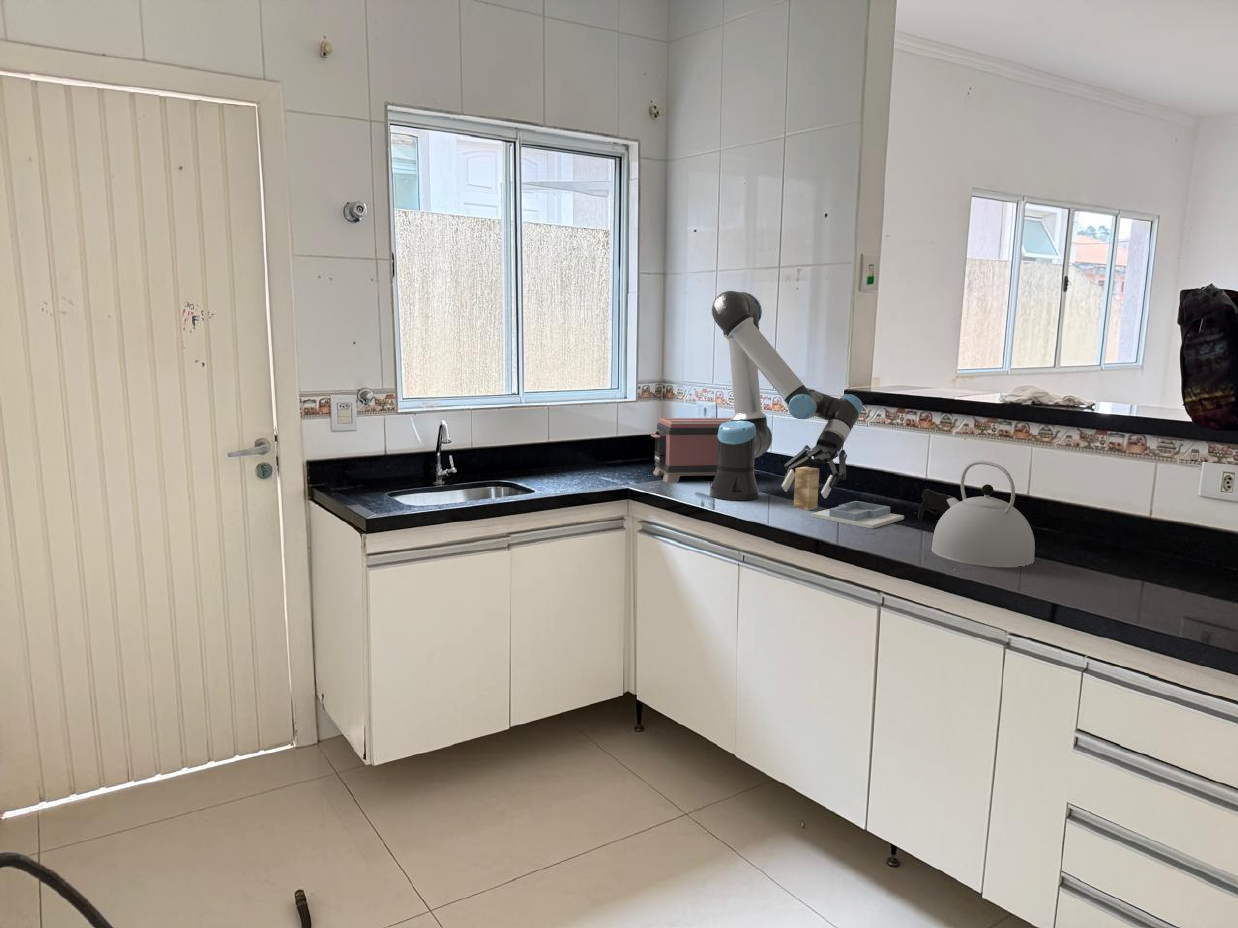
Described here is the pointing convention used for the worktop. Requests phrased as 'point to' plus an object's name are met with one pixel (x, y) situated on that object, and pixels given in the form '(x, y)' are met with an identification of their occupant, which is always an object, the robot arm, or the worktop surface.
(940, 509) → the gun
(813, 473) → the block
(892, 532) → the worktop surface
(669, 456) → the toaster
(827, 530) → the worktop surface
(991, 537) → the kettle
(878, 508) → the grey shape fitting board
